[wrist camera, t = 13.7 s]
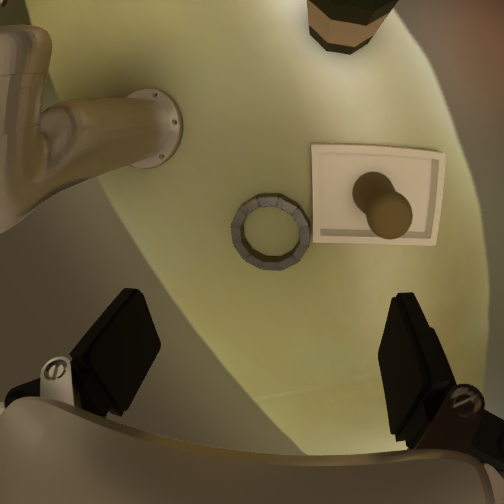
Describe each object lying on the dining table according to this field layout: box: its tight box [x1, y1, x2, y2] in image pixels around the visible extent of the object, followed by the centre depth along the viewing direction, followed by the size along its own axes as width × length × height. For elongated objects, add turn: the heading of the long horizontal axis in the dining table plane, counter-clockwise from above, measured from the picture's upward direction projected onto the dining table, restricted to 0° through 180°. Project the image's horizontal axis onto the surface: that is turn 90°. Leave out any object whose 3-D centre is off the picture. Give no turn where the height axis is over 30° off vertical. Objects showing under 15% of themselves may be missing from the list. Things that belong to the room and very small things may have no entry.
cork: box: [352, 172, 413, 240], centre depth 31 cm, size 6×6×11 cm
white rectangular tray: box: [311, 143, 446, 246], centre depth 34 cm, size 18×13×3 cm
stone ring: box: [231, 194, 310, 270], centre depth 41 cm, size 11×11×2 cm
